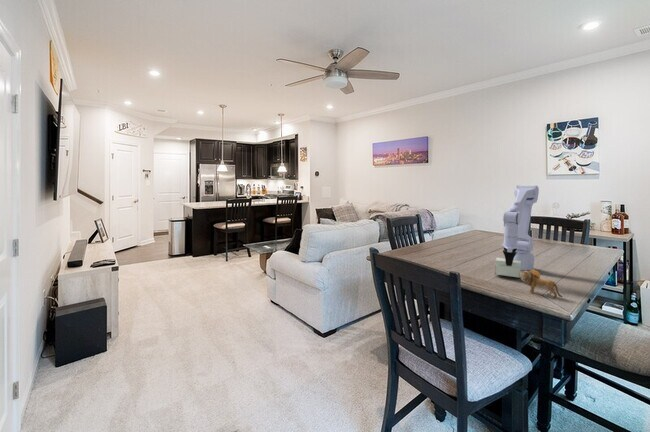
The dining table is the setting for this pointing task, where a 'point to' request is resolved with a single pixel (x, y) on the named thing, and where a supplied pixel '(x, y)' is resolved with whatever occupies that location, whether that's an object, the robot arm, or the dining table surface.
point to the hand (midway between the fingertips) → (508, 263)
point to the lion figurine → (539, 283)
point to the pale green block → (508, 268)
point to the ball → (535, 273)
